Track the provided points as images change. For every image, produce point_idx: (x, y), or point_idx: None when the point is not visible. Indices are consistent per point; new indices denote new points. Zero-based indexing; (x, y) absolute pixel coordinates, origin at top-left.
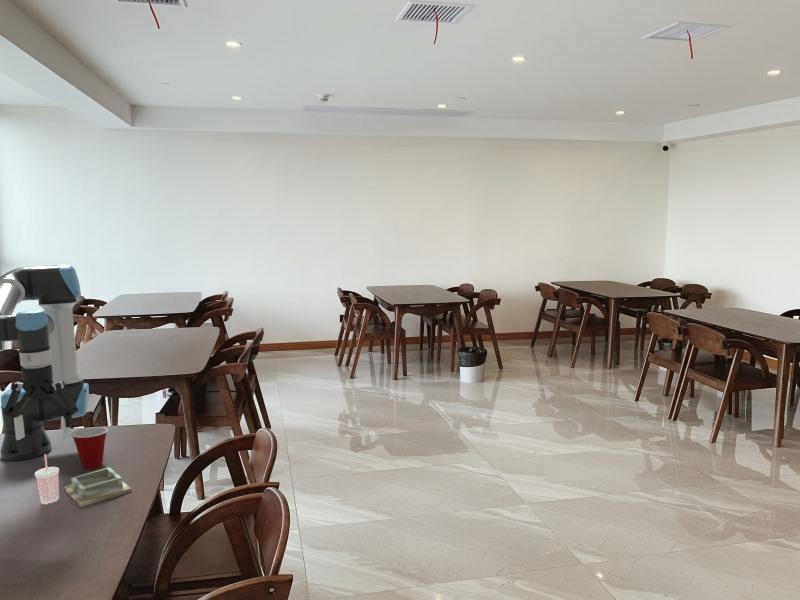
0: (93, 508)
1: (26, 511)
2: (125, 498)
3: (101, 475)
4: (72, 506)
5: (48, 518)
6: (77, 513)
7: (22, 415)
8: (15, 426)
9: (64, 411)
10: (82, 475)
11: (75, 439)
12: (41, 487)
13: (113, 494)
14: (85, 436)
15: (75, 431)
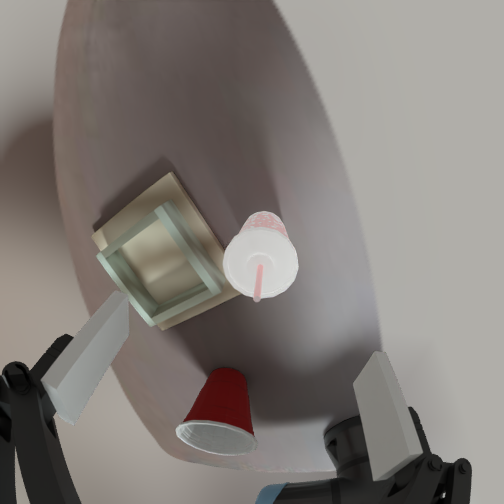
0: (141, 160)
1: (304, 181)
2: (94, 201)
3: (164, 306)
4: (194, 181)
5: (232, 124)
6: (169, 139)
7: (373, 478)
8: (404, 408)
9: (13, 409)
10: (195, 298)
11: (242, 425)
12: (273, 223)
13: (115, 215)
14: (209, 423)
15: (252, 449)
